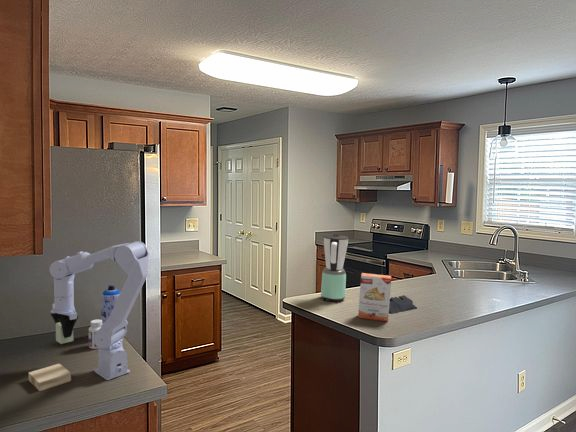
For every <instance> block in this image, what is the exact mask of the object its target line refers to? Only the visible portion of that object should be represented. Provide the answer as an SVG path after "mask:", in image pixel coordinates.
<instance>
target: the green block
mask: <svg viewBox="0 0 576 432" xmlns="http://www.w3.org/2000/svg"><path fill="white" fill-rule="evenodd" d="M55 341H56V342H57V343H59V344H60V345H62V344H66V343H70V342H74V330H73V331H72V335H71V337H67V338H64V336H63V331H62V326H61V323H60V322H59V323H56V324H55Z"/></svg>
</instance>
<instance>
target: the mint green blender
mask: <svg viewBox="0 0 576 432" xmlns="http://www.w3.org/2000/svg"><path fill="white" fill-rule="evenodd" d="M349 239H350V238H349V236H345V235H342V234H327V235H323V250H324V259H325V267H324V268H323V269H322V274H321V286H320V287H321V289H320V297H321V298H322V301H323V302H327V301H332V302H337V303H342V301H343V300H344V299H346V289H347V288H346V285H347V283H346V282H347V273H346V270H345V269H344V263H345V259H346V254H347V251H348V250H347V249H348V246H349V245H348V244H349Z"/></svg>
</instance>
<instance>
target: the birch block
mask: <svg viewBox="0 0 576 432" xmlns="http://www.w3.org/2000/svg"><path fill="white" fill-rule="evenodd" d="M28 381H29V382H30V384H32V385H33V387H34V388H36V389H37V390H38V391H39V392H41V391H44V390H48V389H51V388H53V387H57V386H59V385H63V384H66V383H68V382H71V381H72V373H71V372H70V371H69V370H68V369H66V367H64V365H62V364H61V363H55V364H53V365H50V366H46V367H43V368H39V369H35V370H32V371H28Z"/></svg>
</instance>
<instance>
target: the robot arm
mask: <svg viewBox="0 0 576 432" xmlns="http://www.w3.org/2000/svg"><path fill="white" fill-rule="evenodd" d="M149 256H150V252H149V250H148V247H147V246H146V244H145V243H144V242H143V241H140V240H139V241H138V240H136V241H132V242H127V243H120V244H116V245H112V246H109V247H107V248H104V249H101V250H99V251H96V252H94V253H89V252H88V251H83V250H82V251H81V250H80V251H78V252H76V254H75V255H72V256H70V255H68V256H65V257H64V259H60V260H55V261H54V262H52V263H51V264H50V266H49V273H50V275H51V277H52V278H53V287H54V288H53V289H54V290H53V293H54V294H53V297H54V298H53V299H54V302H53V303H52V305H51V307H52V309H51V310H50V316H51V318H52V320H53V322H54V324H55V325H56V323H59V322H60V323H61V326H62V331H63V336H64V338H67V337H71V335H72V331H73V332H74V326H75V325H76V322H77V321H78V319H79V315H78V312H76V308H75V302H74V301H75V299H74V298H75V295H74V294H75V293H74V292H75V291H74V290H75V289H74V287H75V286H74V284H75V283H74V279H75V275H76V274H78V273H81V272H84V271H87V270H91V269H92V268H93V267H94V264H95V263H99V262H102V261H106V260H111V261H113V262H116V263H117V264H118V265H119V267H120V268H121V269H122V270H123V272H124V273H125V274H126V275H127V277H126V280H125V283H124V284H123V286H122V289H121V291H120V292H121V293H120V295H119V297H118V299H117V301H116V303H115V305H114V308H113V310H112V312H111V314H110V316H109V318H108V319H107V320H106V321H105V322H104V323H103V324H102V326H101V328H100V329H99V330H98V331H96V332H95V334H94V337H93V340H94V343H95V345H96V346H97V347H98V349H97V350H98V354H97V355H98V357H97V359H98V367H95V368H93V369H92V371H93V372H94V373H96V374H97V375H99V376H100V377H101V378H103V379H104V380H106V381H109V380H112V379H115V378H118V377H121V376H123V375H126V374H130V372H131V370H130V369H128V353H127V352H126V350H125V349H124V347H123V341H124V337H125V336H126V335H127V328H128V327H127V326H128V324H129V322H128V320H127V319H128V317H129V315H130V313H131V311H132V308H133V307H134V305H135V302H136V301H137V298H138V296H139V294H140V292H141V290H142V288H143V287H144V286H143V285H144V283H145V281H146V280H147V277H148V274H149V272H148V268H149V267H148V263H149V261H148V260H149Z"/></svg>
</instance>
